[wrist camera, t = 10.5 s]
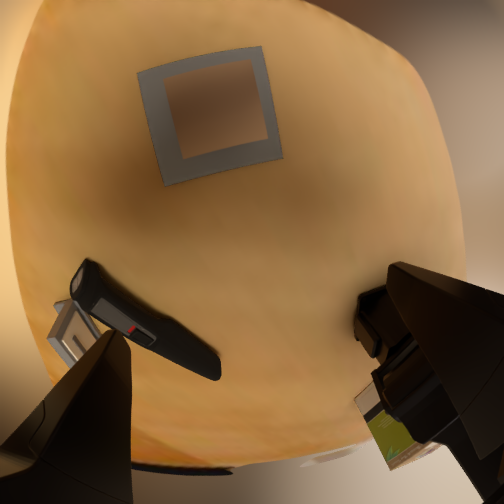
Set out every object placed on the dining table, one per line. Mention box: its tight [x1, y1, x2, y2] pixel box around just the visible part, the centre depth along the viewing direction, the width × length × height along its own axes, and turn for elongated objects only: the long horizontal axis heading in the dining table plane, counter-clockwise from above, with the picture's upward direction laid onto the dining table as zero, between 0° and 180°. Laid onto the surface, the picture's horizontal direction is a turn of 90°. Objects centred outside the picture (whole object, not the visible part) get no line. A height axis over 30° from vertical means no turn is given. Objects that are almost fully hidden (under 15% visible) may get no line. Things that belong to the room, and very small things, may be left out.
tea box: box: [355, 382, 442, 471], centre depth 30 cm, size 15×10×15 cm
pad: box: [137, 46, 283, 187], centre depth 15 cm, size 8×8×1 cm
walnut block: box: [163, 59, 268, 159], centre depth 13 cm, size 4×4×5 cm
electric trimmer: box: [70, 259, 221, 381], centre depth 21 cm, size 4×16×3 cm, turn 42°
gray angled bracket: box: [47, 299, 102, 369], centre depth 19 cm, size 3×7×5 cm, turn 11°
